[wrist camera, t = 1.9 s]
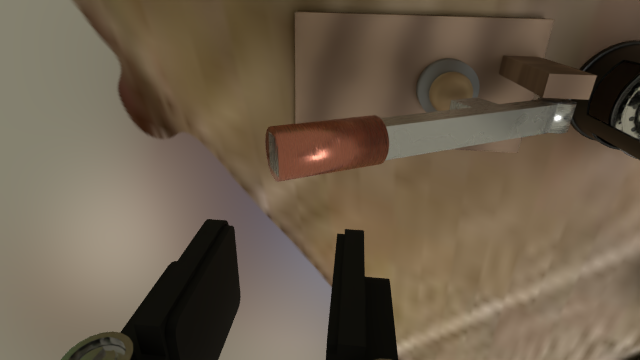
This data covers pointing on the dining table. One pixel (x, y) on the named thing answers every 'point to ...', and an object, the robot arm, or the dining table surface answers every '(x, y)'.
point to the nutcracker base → (424, 65)
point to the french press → (628, 109)
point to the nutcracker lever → (407, 134)
